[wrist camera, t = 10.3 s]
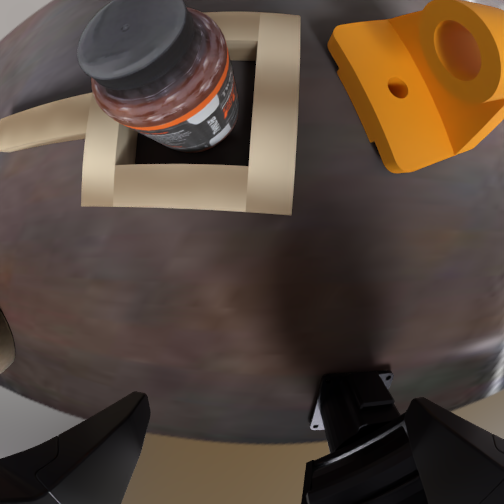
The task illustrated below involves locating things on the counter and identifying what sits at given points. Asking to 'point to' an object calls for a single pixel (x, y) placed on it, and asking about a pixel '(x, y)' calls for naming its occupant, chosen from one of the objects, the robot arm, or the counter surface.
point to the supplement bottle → (161, 72)
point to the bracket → (425, 80)
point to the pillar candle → (5, 345)
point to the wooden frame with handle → (188, 175)
